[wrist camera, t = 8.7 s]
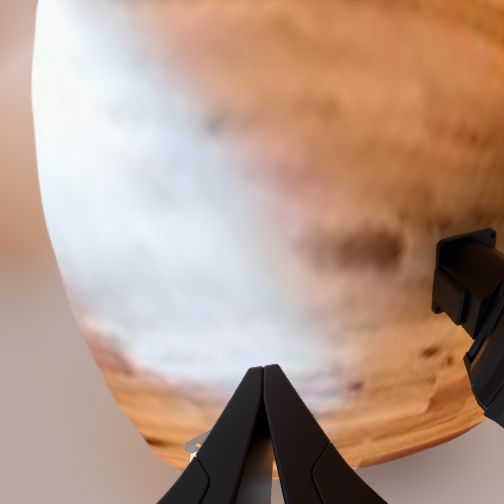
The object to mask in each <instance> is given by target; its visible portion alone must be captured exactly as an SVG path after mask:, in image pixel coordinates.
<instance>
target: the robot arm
mask: <svg viewBox="0 0 504 504" xmlns="http://www.w3.org/2000/svg"><path fill="white" fill-rule="evenodd" d="M495 243H496V231H495V230H493V229H492V228H490V229H486V230H482V231H477V232H473V233H469V234H465V235H461V236H456V237H452V238H448V239H444V240H441V241H439V242H438V244H437V248H436V267H435V271H434V282H433V293H432V298H433V300H432V311H433V312H434V314H439V313H442V312H445V313H446V314H447V315H448V316H449V317H450V318H451V320H452V321H453V322H454V323H455V324H456V325H457V326H459V325H461V326H462V327H463V328H464V329H465V331H466V332H467V333H468V334H469V335H470V337H471V338H472V339H473V340H474V342H473V344H472V346H471V348H470V349H469V351H468V352H466V354H465V356H464V357H463V360H464V363H465V366H466V369H467V372H468V376H469V379H470V382H471V389H472V393H473V394H474V396H475V399H476V401H477V403H478V405H479V406H480V407H481V408H482V409H483V410H484V411H485V412H484V415H485V416H486V417H488V418H489V419H491V420H493V421H495V422H496V423H498V424H499V425H500V426H502V427H503V428H504V254H502V253H501V252H499V251H498V250H496V249H495ZM443 245H444V248H443V249H442V246H443ZM437 307H438V308H437ZM436 308H437V309H436ZM273 451H274V455H275V460H276V465H277V470H278V475H279V479H280V484H281V488H282V493H283V498H284V502H285V504H388V503H387V502H386V501H384V500H383V499H382V498H381V497H380V496H379V495H378V494H377V493H376V492H375V491H374V490H373V489H372V488H371V487H369V486H368V485H367V484H366V483H365V482H364V481H363V480H362V479H361V478H360V477H359V476H358V475H357V474H356V473H355V472H354V470H353V469H352V468H351V467H350V466H349V465H348V464H347V462H346V461H345V460H344V459H343V457H342V456H341V455H340V454H339V452H338V451H337V449H336V448H335V447H334V445H333V444H332V443H330V440H329V438H328V437H327V436H326V434H325V433H324V431H323V430H322V428H321V427H320V426H319V424H318V423H317V421H316V420H315V418H314V417H313V415H312V414H311V412H310V411H309V410H308V408H307V407H306V405H305V404H304V402H303V401H302V399H301V398H300V396H299V395H298V393H297V392H296V390H295V389H294V387H293V386H292V384H291V383H290V381H289V380H288V378H287V377H286V375H285V374H284V372H283V371H282V369H281V368H280V366H279V365H278V364H272V365H266V366H264V368H263V367H262V366H259V367H252V368H249V369H248V371H247V372H246V374H245V376H244V378H243V379H242V381H241V383H240V384H239V386H238V388H237V389H236V391H235V393H234V394H233V396H232V398H231V399H230V401H229V402H228V404H227V406H226V407H225V409H224V411H223V412H222V414H221V415H220V417H219V419H218V420H217V422H216V423H215V425H214V427H213V428H212V430H211V431H210V433H209V434H208V436H207V438H206V439H205V441H204V442H203V444H202V445H201V447H200V448H199V450H198V451H197V453H196V457H195V456H194V457H193V459H192V460H191V462H190V463H189V465H188V466H187V468H186V469H185V470H184V472H183V474H182V475H181V476H180V477H179V479H178V480H177V481H176V482H175V484H174V485H173V486H172V487H171V488H170V489H169V491H168V492H167V493H166V494H165V495H164V496H163V497H162V498H161V499H160V500H159V501H158V502H157V503H156V504H270V503H271V487H272V468H273Z"/></svg>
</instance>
